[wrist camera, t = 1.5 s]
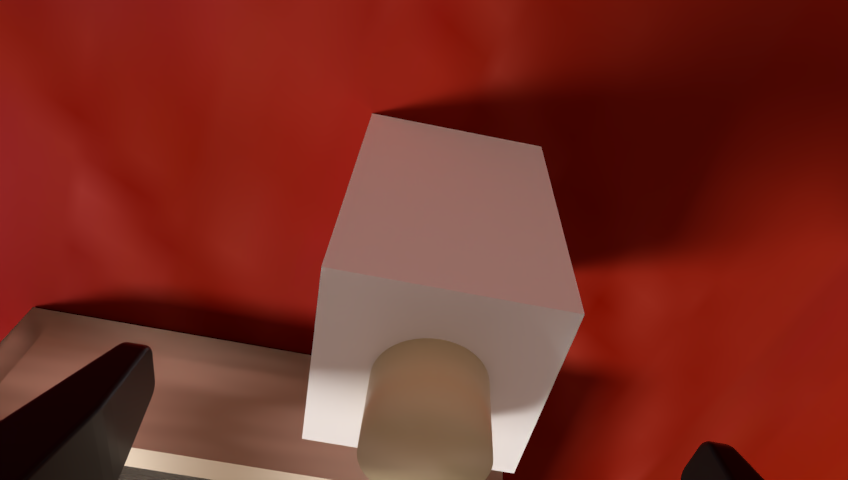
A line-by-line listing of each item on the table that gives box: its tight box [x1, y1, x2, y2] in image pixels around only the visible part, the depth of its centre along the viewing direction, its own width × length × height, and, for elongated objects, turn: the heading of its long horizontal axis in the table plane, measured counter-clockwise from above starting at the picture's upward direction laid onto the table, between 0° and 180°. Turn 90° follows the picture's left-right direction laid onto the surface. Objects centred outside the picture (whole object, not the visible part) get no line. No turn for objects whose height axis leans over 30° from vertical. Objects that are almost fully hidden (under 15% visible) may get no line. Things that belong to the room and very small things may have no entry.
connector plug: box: [302, 113, 585, 480], centre depth 12 cm, size 4×4×8 cm
